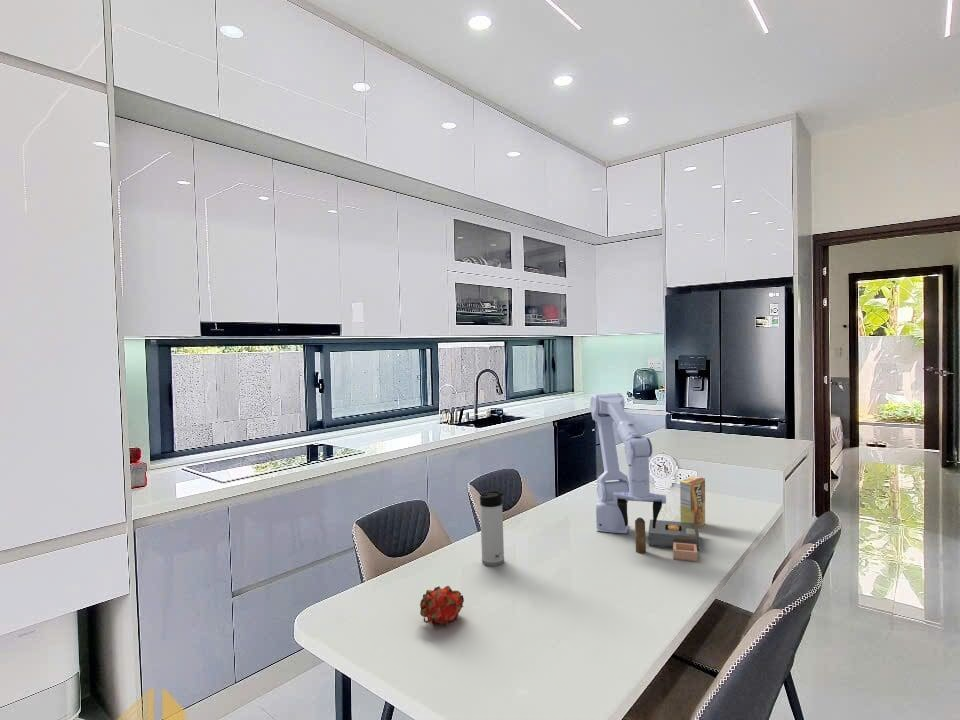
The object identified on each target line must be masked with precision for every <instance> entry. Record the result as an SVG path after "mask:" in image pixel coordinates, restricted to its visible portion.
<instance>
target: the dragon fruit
mask: <svg viewBox="0 0 960 720" xmlns="http://www.w3.org/2000/svg"><path fill="white" fill-rule="evenodd" d="M464 598H465V597H464V595H463V594H462V593H461V592H460V591H459V590H452V587H450V585H446V586H445V587H443V588H441V587H440V585H439V586H437V587H434V589H433V590H432V589H426V591H425V593H424V594H422V598H421V600H420V603H419V607H420V608H419V609H420V610H419V611H420V612H419V614H420V616H421V617H423V622H424V623H426V624H432V625H433V626H435V625H437V624H441V625H442V626H445V627H448V626H449V624H450V621H456V620H457V618H458V617H459V613H460V612H461V610H462V608H463V607H464V605H463V604H464V603H465V602H464V601H465V599H464ZM426 619H427V620H426Z"/></svg>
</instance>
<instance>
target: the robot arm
mask: <svg viewBox="0 0 960 720" xmlns="http://www.w3.org/2000/svg"><path fill="white" fill-rule="evenodd" d="M589 405H590V412H591V417H592V420H593V421H595V422H596V424H597V428H598V429H597V430H598V435H599V444H600V451H601V457H602V464H603V470H604V471H603V473H601V474H600V475H599V476H598V477H597V479H596V484H597V485H596V486H597V487H596V493H597V498H598V499H599V500H597V502H596V506H595V507H596V508H595V515H596V517H595V518H596V521H595V523H596V529H595V530H596V532H603V533H605V532H606V533H613V534H627V533H628V530H629V526H630V525H629V517H628V503H629V502H630V501H631V502H645V503H652V520H653V528H655V527H656V520H658V517H659V514H660V512H661V509H662V508H663V507H662V506H663V504H665V505H666V504H667V495H666V494H657V493H651V491H650V488H651V487H650V463H649V462H650V459H649V458H651V457H652V455H653V444H652V442H651V441H652V440H651V439H650V437H648V436H646V435H642V433H641V432H640V430H639V428H638V427H637V425H636V423H635V422H634V421H633V420H629V418H628V415H627V413H626V410H625V397H624V396H623V394H622V393H620V392H618V393H617V392H616V393H603V394H602V393H600V394H594V393H593V394H592V396H591V398H590V403H589ZM614 422H615V424H616V425H617V427H616V429H617V433H618V435H619V437H620V439H621V441H622V443H623V444H624V447H623V450H624V454H625V460H626V464H628V466H627V469H628V475H626V474H625V473H624V472H622V471H620V465H619V464H620V463H619V458H618V450H617V445H616V438H615V431H614Z"/></svg>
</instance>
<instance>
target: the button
mask: <svg viewBox="0 0 960 720" xmlns="http://www.w3.org/2000/svg"><path fill="white" fill-rule="evenodd" d="M668 530H674V531H679V527H678V526H676V525H669V526H668Z"/></svg>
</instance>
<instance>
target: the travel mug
mask: <svg viewBox="0 0 960 720" xmlns="http://www.w3.org/2000/svg"><path fill="white" fill-rule="evenodd" d="M503 496H504V492H503V491H500V490H499V491H498V490H494V491H492V490H491V491H487V492H484V493H482V494H481V495H479V511H480V514H479V515H480V516H479V517H480V538H481V540H480V541H481V542H480V543H481V545H480V546H481V562H482V564H483V565H484V566H487V567H498V566H501V565H503V564H504V563H505V551H504V550H505V548H504V543H505V542H504V523H503V522H504V521H503V519H504V518H503V517H504V516H503V501H502V500H503V499H502V498H503Z"/></svg>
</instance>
